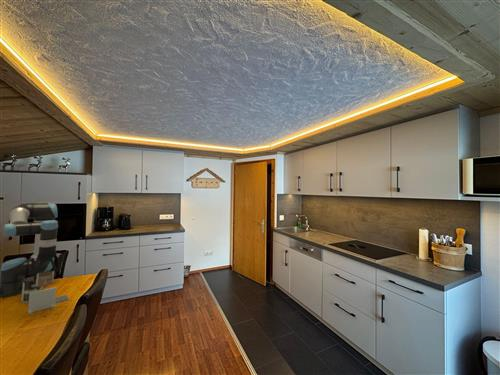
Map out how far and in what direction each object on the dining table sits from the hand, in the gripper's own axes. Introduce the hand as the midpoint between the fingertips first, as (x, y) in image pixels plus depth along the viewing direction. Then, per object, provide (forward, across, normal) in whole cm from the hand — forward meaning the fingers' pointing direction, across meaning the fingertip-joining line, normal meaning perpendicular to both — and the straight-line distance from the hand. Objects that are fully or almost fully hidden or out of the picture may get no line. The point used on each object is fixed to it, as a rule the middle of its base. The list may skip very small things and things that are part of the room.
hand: (44, 283), depth 124 cm
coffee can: (+19, -4, +28) cm, 34 cm away
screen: (+19, 0, +6) cm, 20 cm away
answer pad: (+19, +9, +14) cm, 25 cm away
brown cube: (0, 0, 0) cm, 0 cm away
